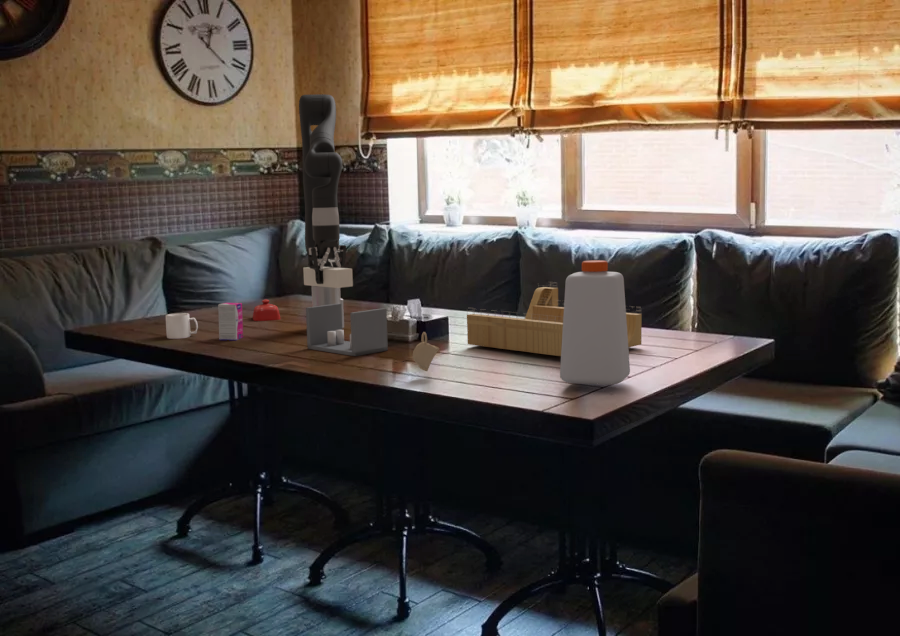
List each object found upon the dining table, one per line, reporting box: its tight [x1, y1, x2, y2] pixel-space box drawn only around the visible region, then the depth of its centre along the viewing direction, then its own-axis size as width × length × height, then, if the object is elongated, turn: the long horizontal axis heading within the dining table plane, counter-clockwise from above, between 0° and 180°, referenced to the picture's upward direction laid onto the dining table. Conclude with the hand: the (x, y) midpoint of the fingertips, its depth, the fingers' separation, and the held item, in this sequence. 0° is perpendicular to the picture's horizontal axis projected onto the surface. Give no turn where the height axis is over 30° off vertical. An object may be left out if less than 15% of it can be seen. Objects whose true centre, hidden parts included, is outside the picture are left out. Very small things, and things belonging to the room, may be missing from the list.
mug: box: [165, 312, 199, 340], centre depth 321 cm, size 10×7×8 cm
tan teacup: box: [412, 331, 440, 372], centre depth 254 cm, size 4×8×5 cm
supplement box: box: [217, 302, 244, 342], centre depth 314 cm, size 6×6×12 cm
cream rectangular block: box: [302, 266, 354, 289], centre depth 289 cm, size 16×6×5 cm, turn 43°
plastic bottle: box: [559, 259, 631, 386], centre depth 238 cm, size 15×15×28 cm
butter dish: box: [252, 298, 281, 322], centre depth 352 cm, size 12×12×8 cm
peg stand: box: [305, 304, 389, 357], centre depth 290 cm, size 22×12×12 cm, turn 45°
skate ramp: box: [466, 281, 643, 357], centre depth 290 cm, size 40×35×16 cm
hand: (328, 282), depth 289 cm, fingers closed on cream rectangular block, 6 cm apart
